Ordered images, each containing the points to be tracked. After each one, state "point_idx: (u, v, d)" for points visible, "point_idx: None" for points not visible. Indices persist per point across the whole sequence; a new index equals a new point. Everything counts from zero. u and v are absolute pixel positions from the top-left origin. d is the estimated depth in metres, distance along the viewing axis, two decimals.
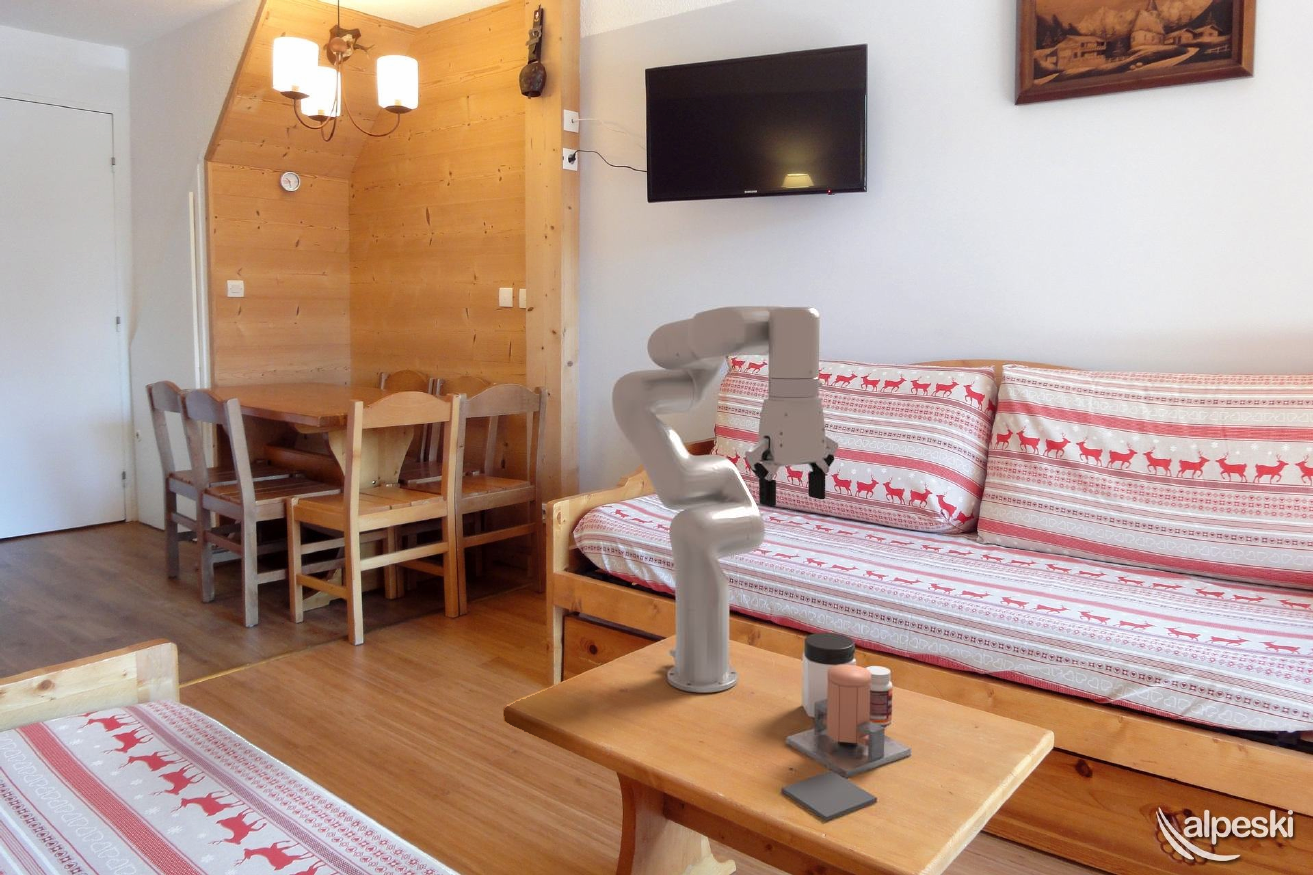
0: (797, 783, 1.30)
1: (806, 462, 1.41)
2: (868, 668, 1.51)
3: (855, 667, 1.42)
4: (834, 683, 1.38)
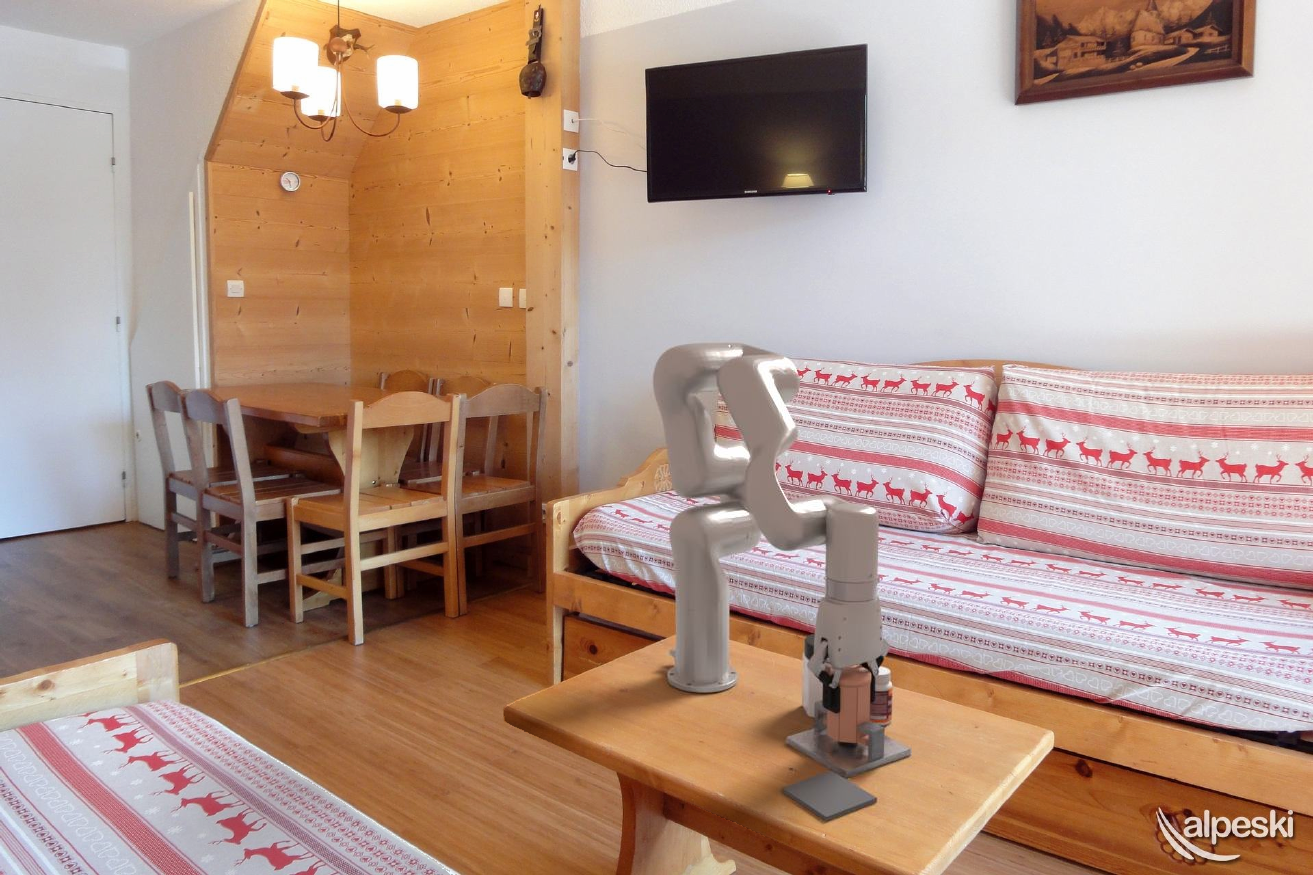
0: (797, 783, 1.30)
1: (863, 662, 1.38)
2: None
3: (855, 667, 1.42)
4: None
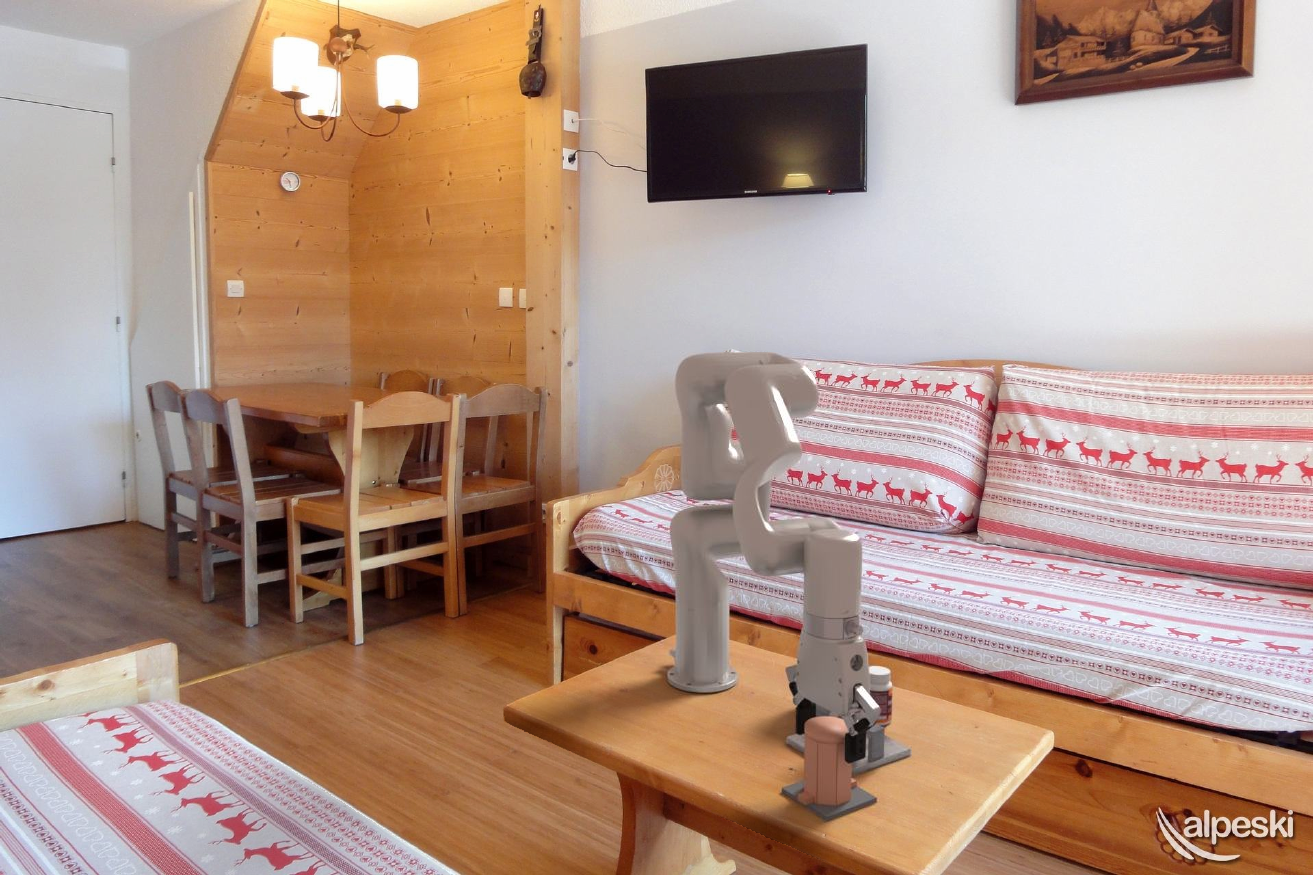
0: (797, 783, 1.30)
1: (825, 708, 1.24)
2: None
3: (846, 730, 1.25)
4: None
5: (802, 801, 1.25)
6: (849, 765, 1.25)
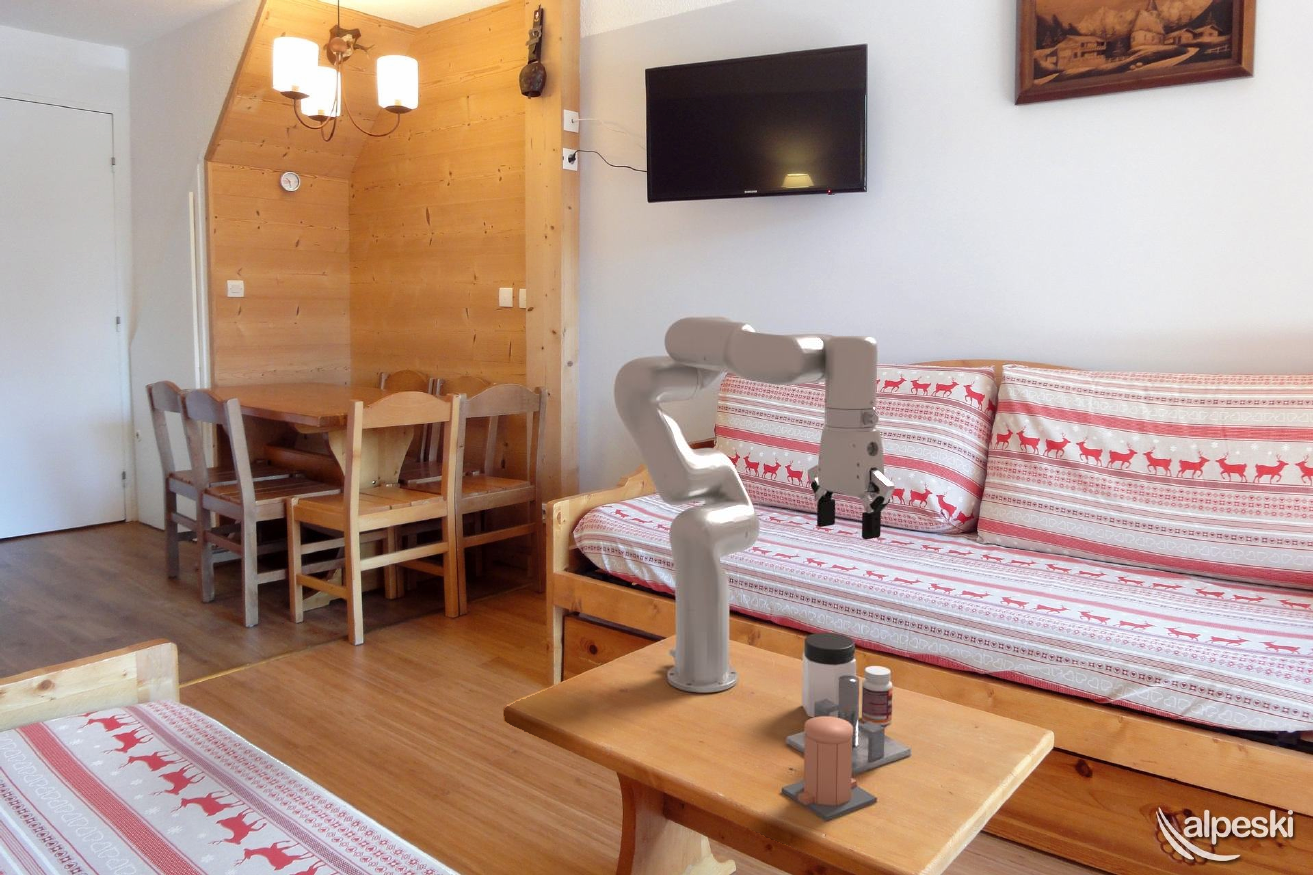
0: (797, 783, 1.30)
1: (844, 494, 1.39)
2: (868, 668, 1.51)
3: (846, 730, 1.25)
4: None
5: (802, 801, 1.25)
6: (849, 765, 1.25)
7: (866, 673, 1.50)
